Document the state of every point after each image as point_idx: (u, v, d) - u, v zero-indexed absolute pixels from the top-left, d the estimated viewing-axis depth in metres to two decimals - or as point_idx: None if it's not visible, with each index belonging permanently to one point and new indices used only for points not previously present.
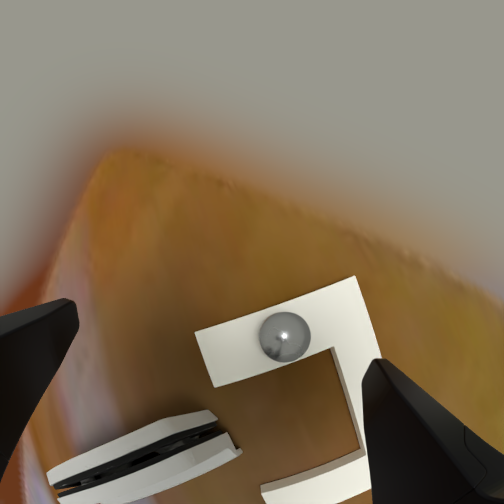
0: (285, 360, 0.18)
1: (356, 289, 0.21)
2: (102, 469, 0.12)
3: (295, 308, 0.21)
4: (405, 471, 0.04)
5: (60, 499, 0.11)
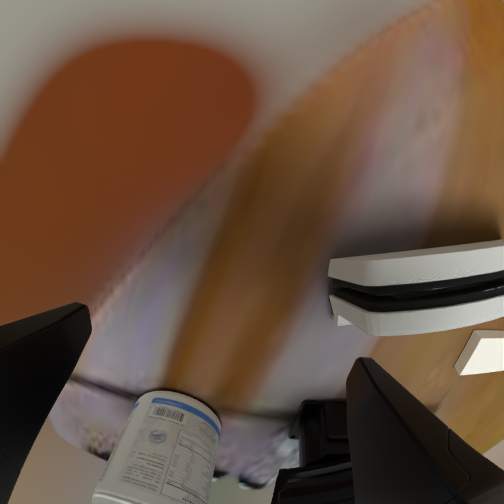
0: None
1: None
2: None
3: None
4: (386, 474, 0.04)
5: (400, 315, 0.12)
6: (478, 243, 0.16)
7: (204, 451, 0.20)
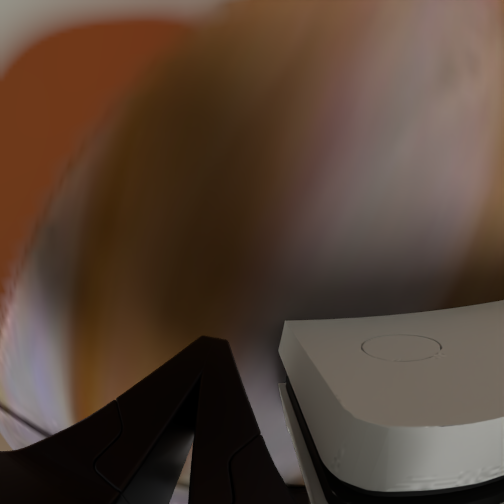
0: None
1: None
2: None
3: None
4: None
5: None
6: None
7: None
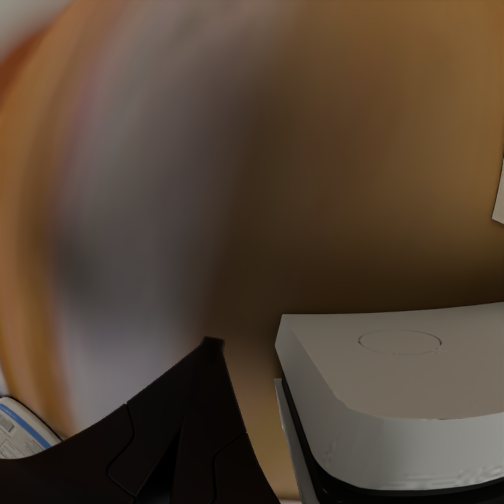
0: None
1: None
2: None
3: None
4: None
5: None
6: None
7: None
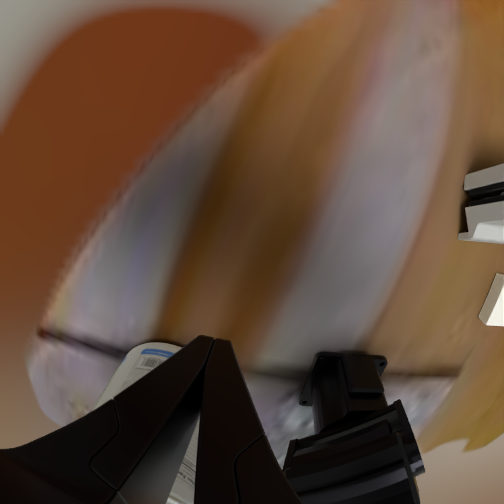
0: None
1: None
2: None
3: None
4: None
5: None
6: None
7: None
